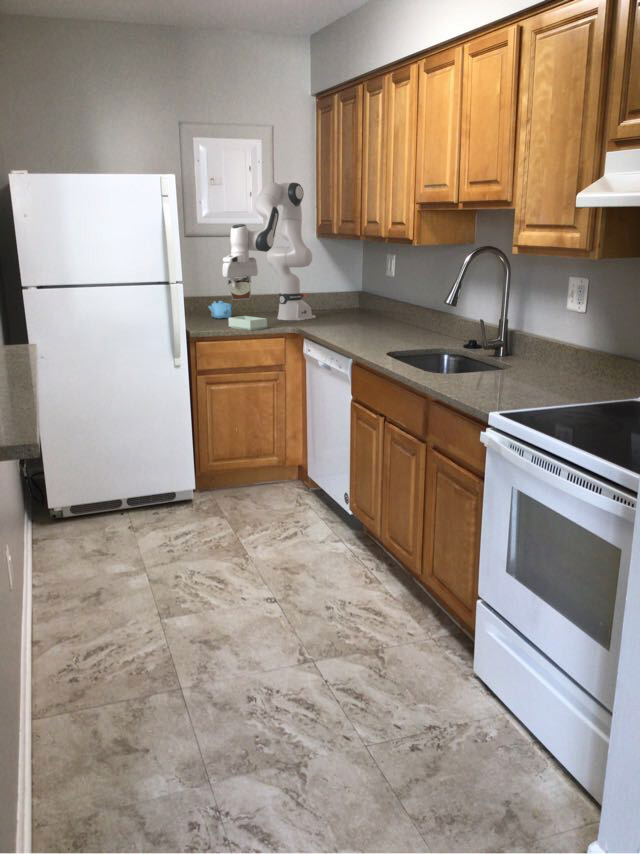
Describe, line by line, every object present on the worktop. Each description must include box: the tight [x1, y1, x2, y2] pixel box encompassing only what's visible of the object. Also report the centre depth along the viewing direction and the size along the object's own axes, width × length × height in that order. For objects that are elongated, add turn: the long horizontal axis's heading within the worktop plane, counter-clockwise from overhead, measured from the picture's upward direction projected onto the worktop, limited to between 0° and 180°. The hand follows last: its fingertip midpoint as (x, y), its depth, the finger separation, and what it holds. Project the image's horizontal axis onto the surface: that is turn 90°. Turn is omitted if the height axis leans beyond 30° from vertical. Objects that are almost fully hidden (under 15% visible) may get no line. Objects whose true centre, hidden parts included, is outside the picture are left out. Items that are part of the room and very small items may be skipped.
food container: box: [227, 277, 252, 301], centre depth 387 cm, size 12×6×10 cm, turn 79°
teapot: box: [207, 300, 232, 320], centre depth 423 cm, size 18×14×10 cm
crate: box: [227, 315, 268, 332], centre depth 388 cm, size 11×17×5 cm, turn 46°
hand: (240, 286), depth 385 cm, fingers closed on food container, 7 cm apart
